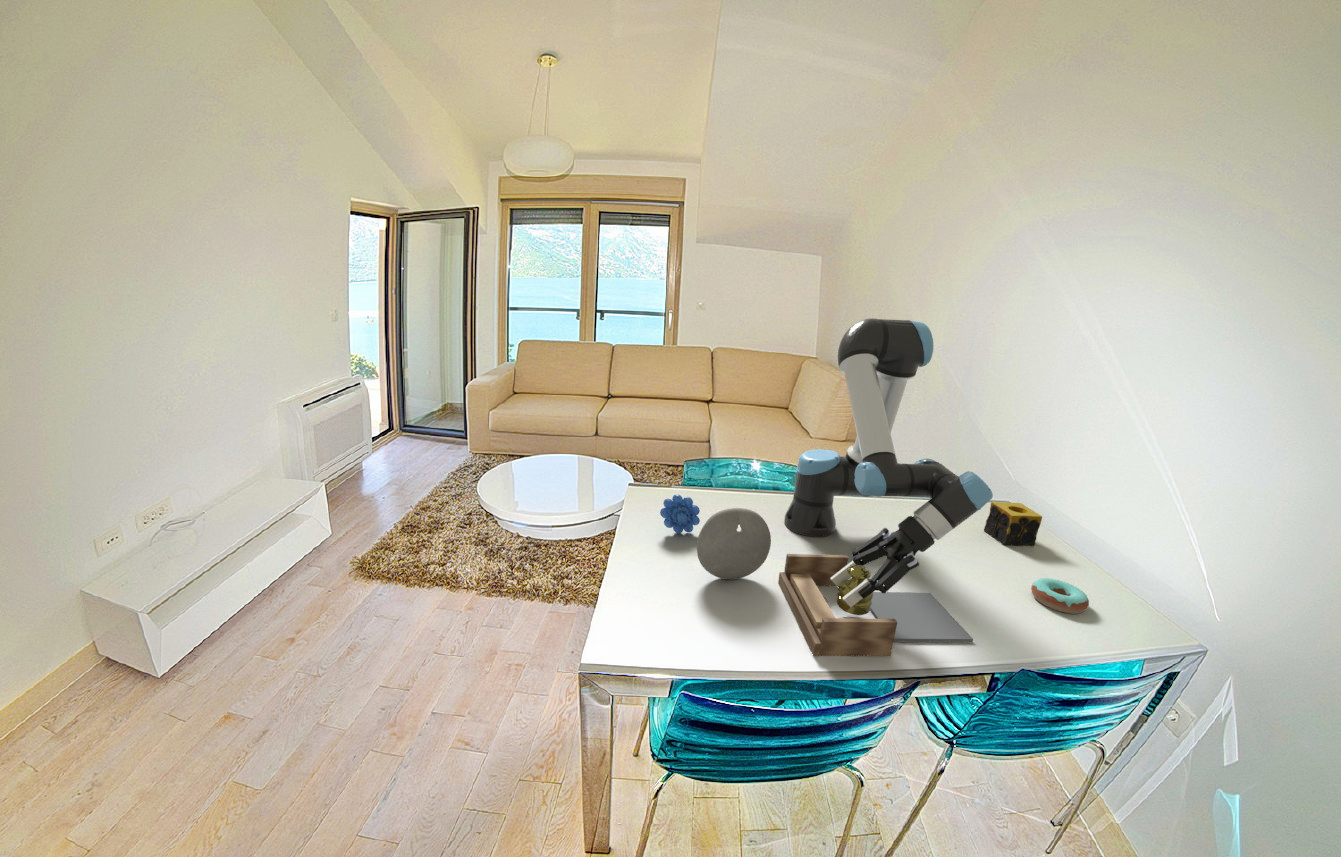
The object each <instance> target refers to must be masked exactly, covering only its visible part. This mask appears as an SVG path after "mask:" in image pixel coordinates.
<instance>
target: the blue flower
mask: <svg viewBox="0 0 1341 857" xmlns="http://www.w3.org/2000/svg"><path fill="white" fill-rule="evenodd" d="M663 506H664V507H663V508H661V509H660V511H659V514H660V516H661V517H662V518H663V519H664V520H663V525H664V526H665V527H666V528H668V529H671V528H672V530H673V532H674V533H675V534H682V533H683V531H685V532H686V533H692V532H693V530H694V526H698V525H700V522H701V520H700V517H699V516H698V515H700V507H699V506H698V505H696V504H694V501H693V499H692V498H691V497H690V496H685V497H682V495H680V494H679V493H678V494H677V493H676V494H673V496H672V497H671V498H665V499H664V500H663Z"/></svg>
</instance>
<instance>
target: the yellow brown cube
mask: <svg viewBox="0 0 1341 857" xmlns="http://www.w3.org/2000/svg"><path fill="white" fill-rule="evenodd" d="M988 514H989V515H988V516H987V519H986V520H985V524H984V529H983V531H984V532H985V533H987V534H988V535H989V536H991V537H992V539H994V540H996V541H997V542H998V543H1000V544H1001V545H1003V546H1009V547H1010V546H1011V547H1013V546H1014V547H1034V546H1036V545H1035V544H1036V541H1037V535H1038V532H1039V529H1040V527H1041V523H1042V520H1043V515H1041V514H1039V513H1037V512H1036V511H1034V510H1033V509H1031V508H1029V507H1028V506H1026V505H1024V503H1021V502H1003V501H991V502H990V507H989V513H988Z"/></svg>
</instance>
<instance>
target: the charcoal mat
mask: <svg viewBox="0 0 1341 857" xmlns="http://www.w3.org/2000/svg"><path fill="white" fill-rule="evenodd" d="M869 612H871V614H872V616H873V617H874V619H895V620H896V621H897V627H896V632H895V637H894V642H893V643H898V642H899V643H973V642H974V638H973V637H972V636H971V635H970V634H969V633H968V631H966V630H965V628H964V627H963V626H962V625H961V624H960V623H959V622H958V621H957V619H955V617H954V616H953V615H951V613H950V612H949V611H948V610H947V609H946V608H945V607H944V606H943V605H942V603H941V602H940V601H938V599H937V598H936V597H935V596H934V595H933V594H932V593H931V592H919V591H918V592H917V591H916V592H914V591H913V592H907V591H905V592H903V591H900V592H899V591H895V592H894V591H887V592H886V593H882V592H880V591H874V592H873V598H872V604H871V608H870V611H869Z"/></svg>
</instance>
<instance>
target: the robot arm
mask: <svg viewBox="0 0 1341 857" xmlns="http://www.w3.org/2000/svg"><path fill="white" fill-rule="evenodd" d="M838 345H839V347H838V350H837V364H838V367H839V368H838V369H839V372H840V373H841V374H842V375H844V376H845V377H844V378H845V383H846V387H847V391H848V396H849V403H850V407H851V413H852V416H853V421H854V425H855V431H856V437H855V441H854V444H852V445H850V446H848V448H847V450H846V453H845V456H840V454H839V452H837V451H835V450H831V449H825V448H824V449H823V448H821V449H819V448H818V449H817V448H815V449H809V450H807V451H804V452H803V453H802V454H801V455H800V456H799V457H798V461H797V462H798V463H797V464H796V465H797V466H796V475H795V481H794V482H795V483H794V491H793V498H792V500H791V502H790V505H789V507H788V509H787V510H786V513H785V515H784V521H783V523H784V525H785V527H787V528H788V529H789V530H790V531H792V532H794V533H796V534H799V535H802V536H807V537H814V538H815V537H816V538H818V537H819V538H822V537H823V538H824V537H828V536H831V535H833V534H834V533H835V531H836V526H837V524H836V516H835V511H834V506H833V505H834V498H835V496H839V497H840V496H843V497H844V496H846V497H847V496H850V497H851V496H852V497H865V498H867V497H881V498H882V497H905V498H907V497H908V498H911V497H912V498H929V500H928V501H926V502H925V503H923V504H922V505H921V506H919V507H918V508H917V509H915V510H914V511H913V515H908V516H907V517H906V518H904V519H903V520H902V521H901V522H899V523H898V524H897V526H898V530H896V531H892V532H891V531H890V530H889V529H888V528H887V527H883V528H882V529H881V530H880V531H879V532H878V533H877V534H876V535H875V536H873V537H871V538H870V539H868V540H867V541H865V542H863V544H860V545H859V546H857V547H856V548H855V549H853V550H852V551H851V552H850V553H851V554H852V558H851V559H852V560H850V561H848V563H847V564H846V565H845V566H844V567H843V568H842V569H841V570H840V571H839V572H837V573H836V574H835V575H833V576H832V577H831V578H830V579H831V580H832V581H833V582H834V584H835V585H836V586H837V587H836V588H839V585H840V583H841V582H843V581H846V580H848V579H851V578H852V577H851V575H850V574H849V573H848V571H847V569H848V567H849V566H852V565H861V566H863V567H864V566H865V565H868V564H870V563H872V562H874V561H876V560H879V559H881V558H883V557H886V558H885V561H884V562H883V563H882V564H881V565H880V566H879V567H878V569H877V570H876V572H875V573H874V574H873V575H872V577H869V578H868V579H865V580H864V581H863V582H862V583H861V584H859V585H858V586H857V587H856V588H854V589H853V590H852V591H850V592H849V593H848V594H846V595H845V596H844V597H843V599H844V601H845V602H846V603H847V604H848V605H849V606H850V607H852V606H853V605H855V604H856V603H857V602H859V601H860V600H861V599H864V598H866V597H867V596H869V595H870V594H871V593H873V592H882V593H886V592H889V590H890V589H892V588H893V587H894V586H895V585H896V584H897V583H898V582H900V580H901V579H902V578H904V577H905V576H906V575H907V574H908V573H909V572H910V571H912V570H914V569H915V568H917V567H919V566H920V562H919V561H918V559H916V557H915V556H916V554H917V553H918V552H921V553H923V552H925V551H927V550H928V549H929V548H931V547H932V546H933V545H935V542H936V541H937V540H938V541H939V540H941V539H942V538H944V537H945V536H946V535H947V534H949V533H950V532H952V531H953V530H954V529H956V528H957V527H958V526H960V525H961V524H962V523H963V522H965V521H966V520H967V519H969V518H970V517H971V516H972V515H974V514H975V513H976V512H978V511H981V509H982V508H983V507H984V506H986V505H987V504H988V503H989V502H990V501H991V500H992V499H993V496H994V495H993V491H992V489H991V488H990V487H989V485H988V484H987V483H986V482H985V481H984V479H982V478H981V477H980V476H979V475H978V474H976V473H974V472H973V471H965V472H964V473H962V474H960V475H957V474H956V473H954V472H953V471H951V470H950V469H949V468H947V467H946V466H945V465H943V464H942V463H940V462H939V461H936V460H934V459H933V458H922V459H920V460H918V461H915V462H914V463H898V460H897V459H898V458H897V456H896V453H895V452H896V451H895V447H894V443H893V442H894V441H893V439H892V434H891V433H892V430H893V427H894V424H895V421H896V418H897V415H898V412H899V408H900V405H901V402H902V398H903V396H904V392H905V389H906V386H907V383H908V380H910V379H913V378H915V377H916V374H917V371H918V369H919V368H923V367H925V366H927V365H929V363H931V360H932V358H933V354H934V338H933V334H932V330H931V329H930V327H929V326H928V325H927V324H926V323H924V322H922V321H915V320H911V319H907V320H906V319H905V320H904V319H886V318H884V319H883V318H882V319H881V318H873V317H872V318H865V319H862V320H859V321H857V322H856V323H854V324H853V325H851V327H849V328H848V329H847V331H846V332H845V333H844V334H843V336H842V338H841V340H840V342H839V344H838ZM935 540H936V541H935Z"/></svg>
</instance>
